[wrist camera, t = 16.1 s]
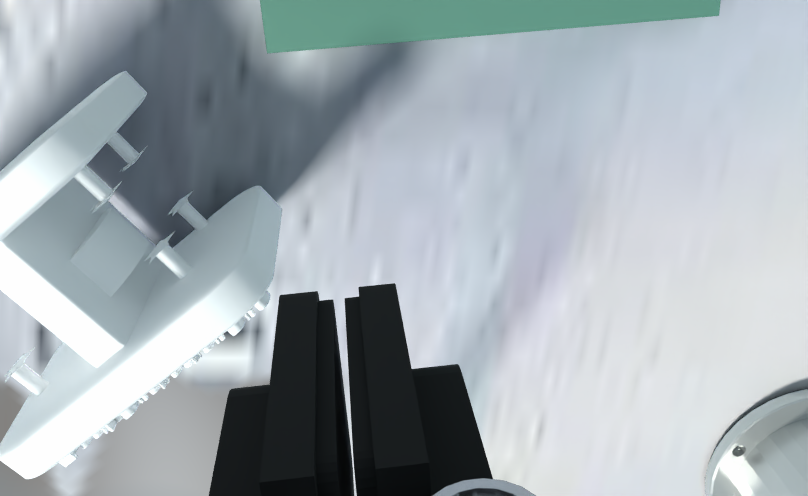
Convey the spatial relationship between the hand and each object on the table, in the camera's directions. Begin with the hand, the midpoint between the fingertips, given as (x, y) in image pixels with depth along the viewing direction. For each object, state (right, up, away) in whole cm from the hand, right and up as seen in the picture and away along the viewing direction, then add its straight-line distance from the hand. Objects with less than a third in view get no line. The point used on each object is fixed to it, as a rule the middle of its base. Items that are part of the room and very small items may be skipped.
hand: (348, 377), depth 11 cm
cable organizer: (-14, +4, +29) cm, 33 cm away
